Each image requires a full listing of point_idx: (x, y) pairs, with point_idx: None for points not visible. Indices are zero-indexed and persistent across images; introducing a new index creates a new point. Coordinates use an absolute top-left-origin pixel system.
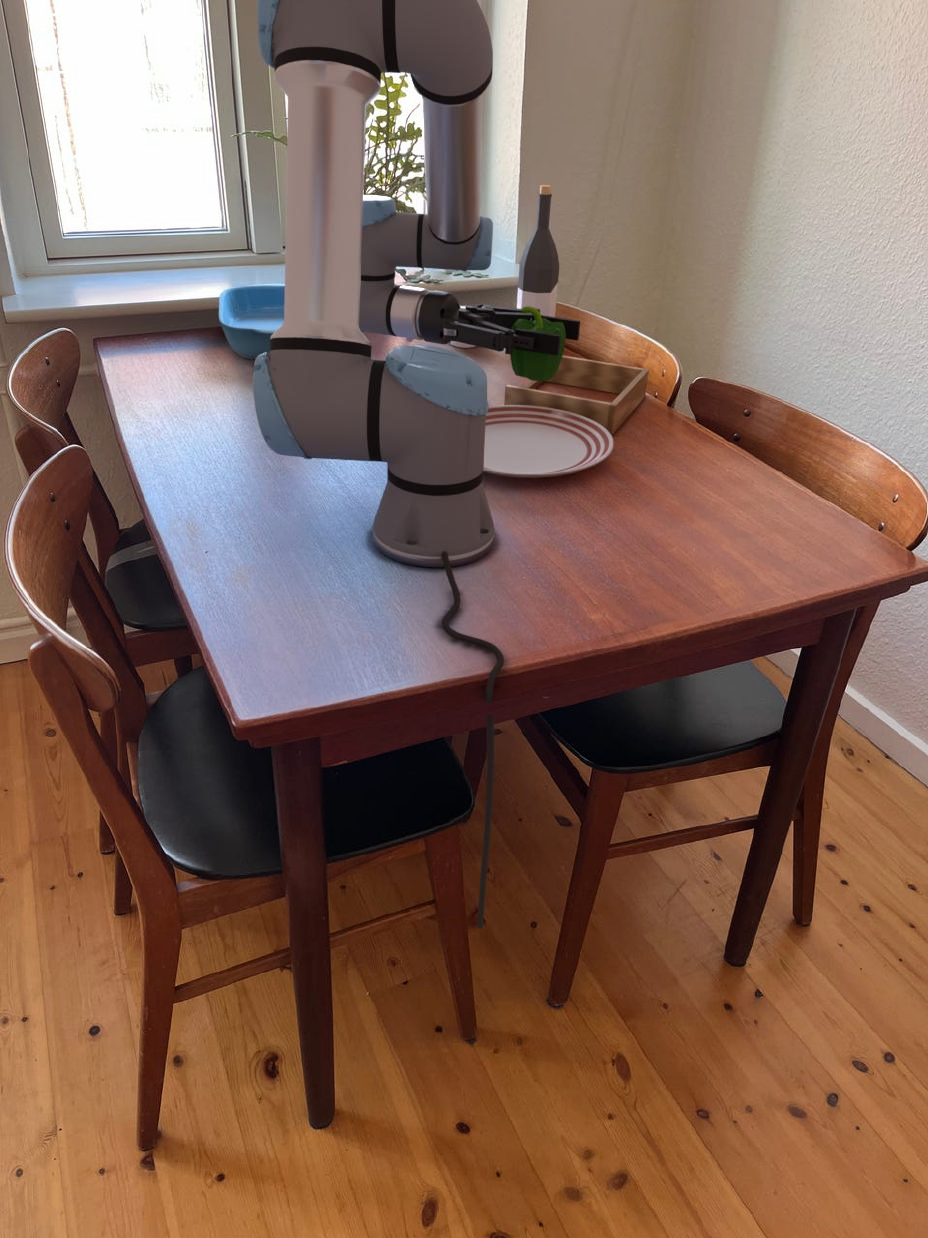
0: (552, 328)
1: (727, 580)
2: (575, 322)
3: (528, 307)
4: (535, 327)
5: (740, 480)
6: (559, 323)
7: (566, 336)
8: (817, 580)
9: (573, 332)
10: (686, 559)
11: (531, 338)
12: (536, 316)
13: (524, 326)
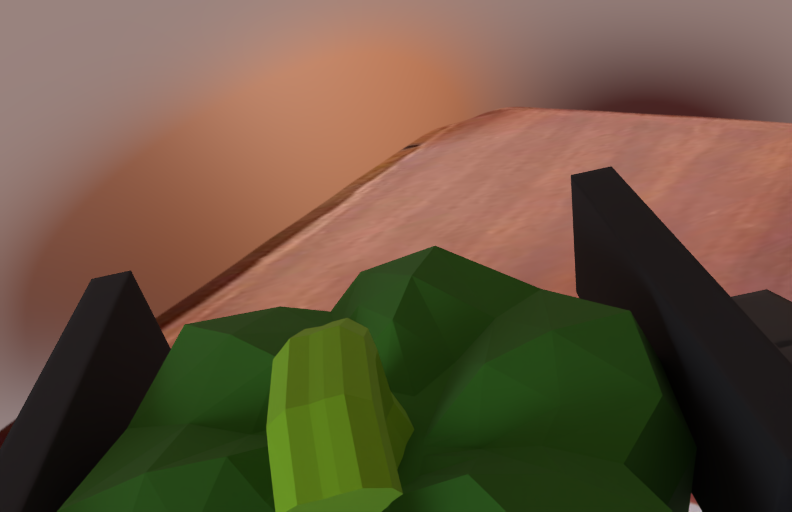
0: (439, 276)
1: (757, 161)
2: (128, 292)
3: (346, 385)
4: (544, 356)
5: (342, 278)
6: (233, 324)
7: None
8: (633, 127)
9: (159, 357)
10: (761, 204)
11: (777, 304)
12: (378, 363)
13: (566, 489)
